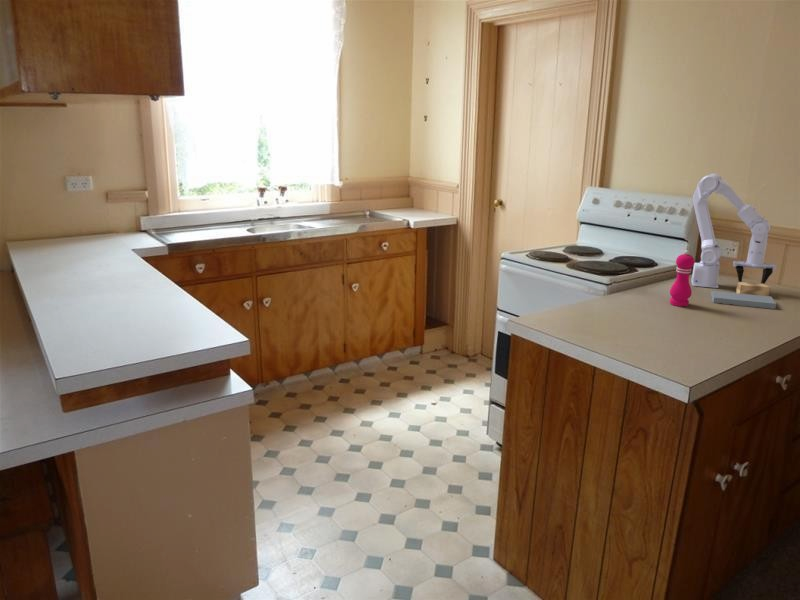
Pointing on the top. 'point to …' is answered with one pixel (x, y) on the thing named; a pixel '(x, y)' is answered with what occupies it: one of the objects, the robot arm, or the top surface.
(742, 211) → the robot arm
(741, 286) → the oak bar
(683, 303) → the pepper mill
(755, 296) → the slate board
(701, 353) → the top surface
